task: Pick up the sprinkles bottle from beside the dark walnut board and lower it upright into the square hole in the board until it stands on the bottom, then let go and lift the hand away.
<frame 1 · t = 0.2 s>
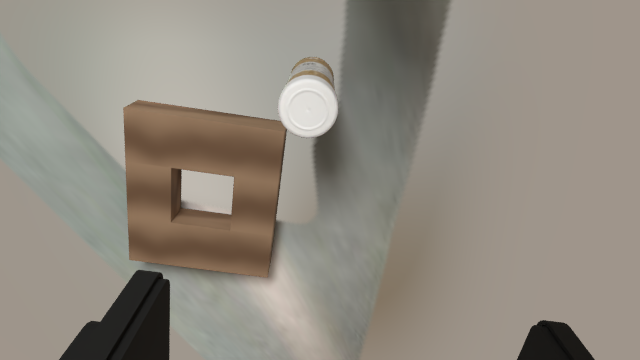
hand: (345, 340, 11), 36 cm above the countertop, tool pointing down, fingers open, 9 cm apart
sprinkles bottle: (312, 78, 43), on the countertop
walnut hole board: (209, 186, 48), on the countertop
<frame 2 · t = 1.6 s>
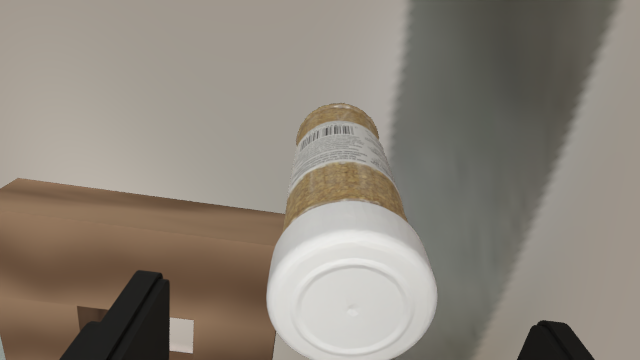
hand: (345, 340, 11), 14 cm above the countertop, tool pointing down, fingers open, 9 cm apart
sprinkles bottle: (338, 139, 23), on the countertop
walnut hole board: (159, 314, 28), on the countertop
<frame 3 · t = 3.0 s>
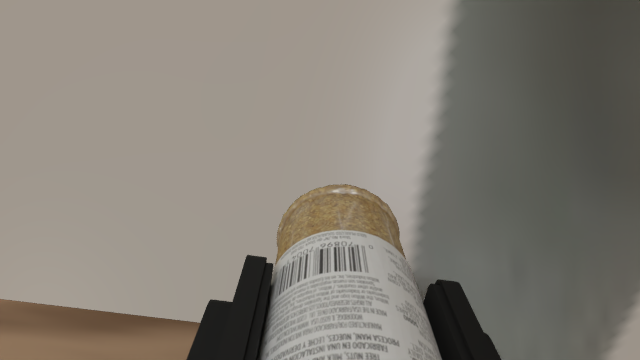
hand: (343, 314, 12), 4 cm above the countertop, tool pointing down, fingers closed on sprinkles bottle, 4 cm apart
sprinkles bottle: (338, 232, 16), on the countertop, touching gripper
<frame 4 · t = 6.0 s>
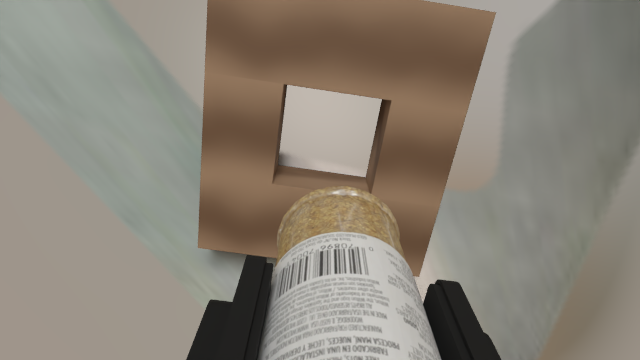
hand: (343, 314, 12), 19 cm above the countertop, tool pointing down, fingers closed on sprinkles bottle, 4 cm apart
sprinkles bottle: (339, 233, 16), point 15 cm above the countertop, touching gripper
walnut hole board: (328, 128, 30), on the countertop
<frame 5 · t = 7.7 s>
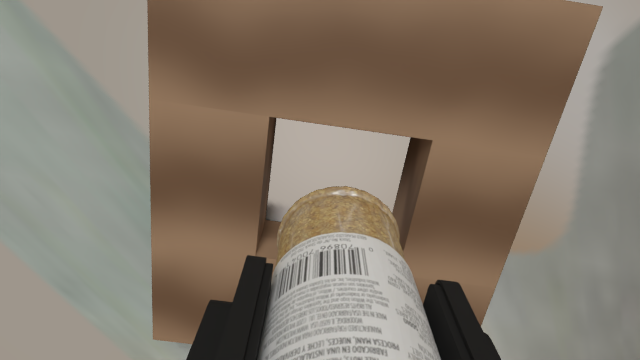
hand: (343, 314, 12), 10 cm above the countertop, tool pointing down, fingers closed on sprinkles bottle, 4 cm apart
sprinkles bottle: (338, 233, 16), point 6 cm above the countertop, touching gripper
walnut hole board: (336, 171, 21), on the countertop
when the fingers open (5 cm above the countertop, at t = 9.0 s): sprinkles bottle stays where it is, resting in walnut hole board.
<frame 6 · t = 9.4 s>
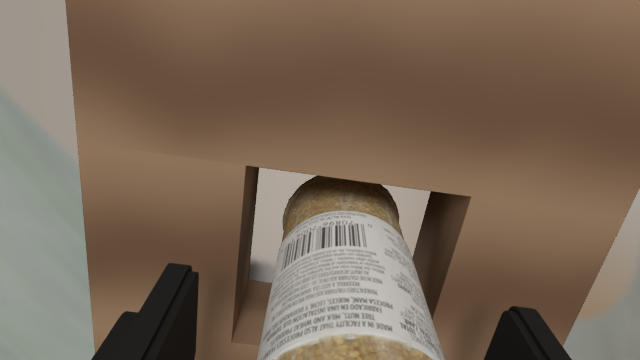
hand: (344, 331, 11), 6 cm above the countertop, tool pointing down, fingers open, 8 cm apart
sprinkles bottle: (341, 216, 17), resting in walnut hole board
walnut hole board: (337, 222, 16), on the countertop
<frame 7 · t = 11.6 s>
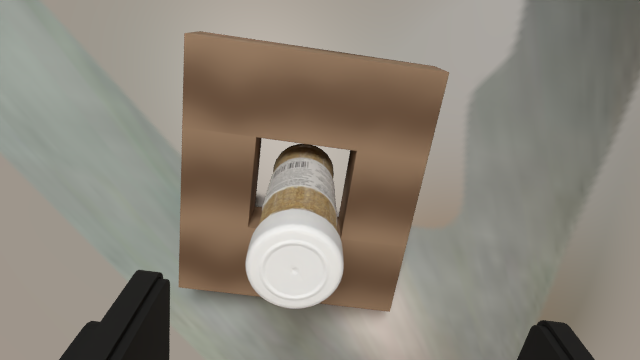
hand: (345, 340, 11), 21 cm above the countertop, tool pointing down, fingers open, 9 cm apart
sprinkles bottle: (304, 169, 32), resting in walnut hole board
walnut hole board: (302, 172, 31), on the countertop
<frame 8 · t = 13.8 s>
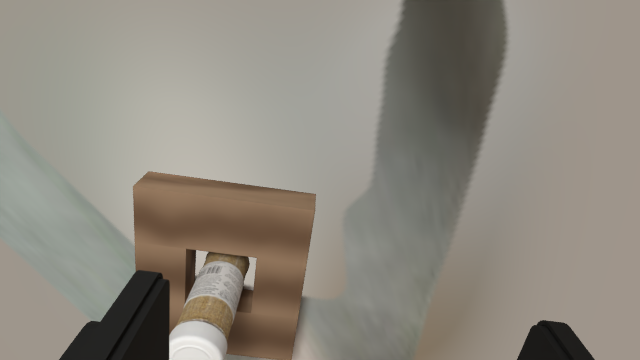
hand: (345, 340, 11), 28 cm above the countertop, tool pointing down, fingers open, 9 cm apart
sprinkles bottle: (229, 259, 43), resting in walnut hole board
walnut hole board: (227, 261, 43), on the countertop
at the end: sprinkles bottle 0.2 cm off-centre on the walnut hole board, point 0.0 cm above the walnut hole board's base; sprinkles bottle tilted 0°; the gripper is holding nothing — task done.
